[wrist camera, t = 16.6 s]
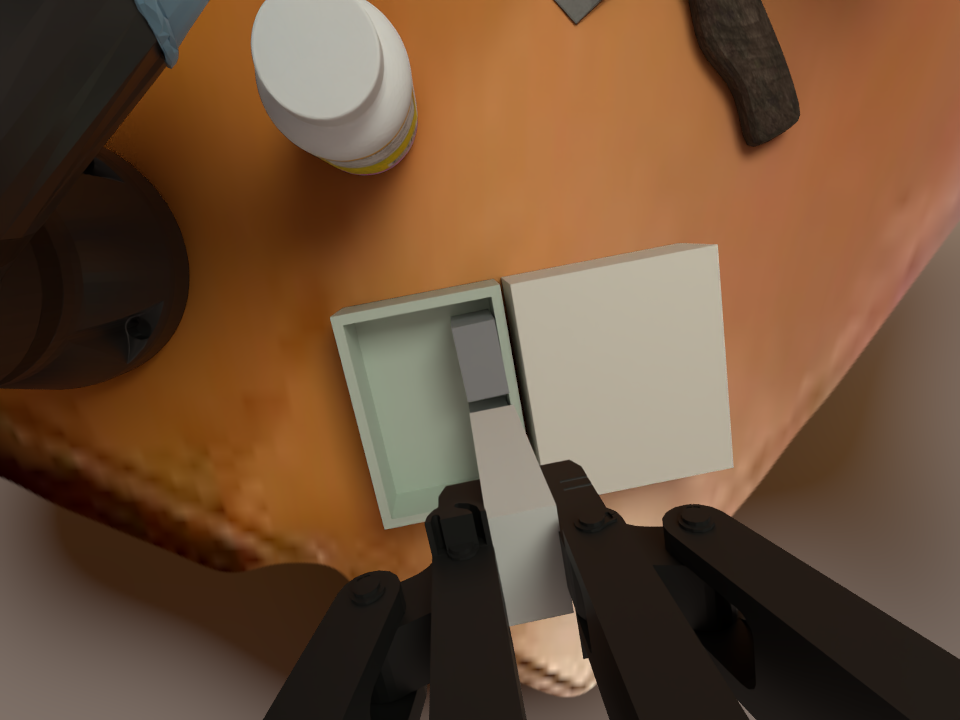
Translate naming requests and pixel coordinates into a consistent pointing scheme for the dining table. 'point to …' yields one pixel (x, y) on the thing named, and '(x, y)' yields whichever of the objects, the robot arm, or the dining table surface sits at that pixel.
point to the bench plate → (625, 364)
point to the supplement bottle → (336, 81)
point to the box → (416, 393)
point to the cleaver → (738, 61)
